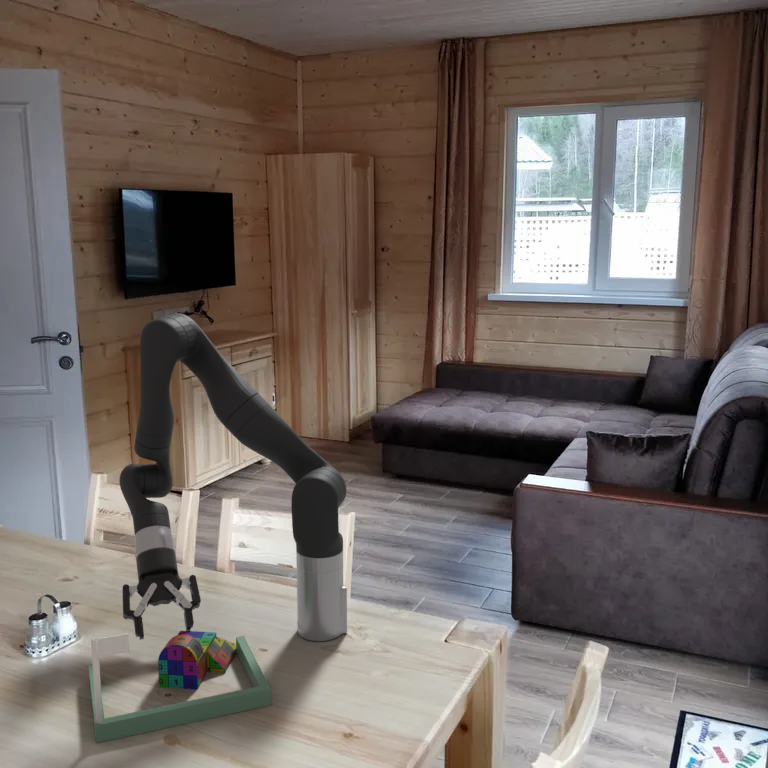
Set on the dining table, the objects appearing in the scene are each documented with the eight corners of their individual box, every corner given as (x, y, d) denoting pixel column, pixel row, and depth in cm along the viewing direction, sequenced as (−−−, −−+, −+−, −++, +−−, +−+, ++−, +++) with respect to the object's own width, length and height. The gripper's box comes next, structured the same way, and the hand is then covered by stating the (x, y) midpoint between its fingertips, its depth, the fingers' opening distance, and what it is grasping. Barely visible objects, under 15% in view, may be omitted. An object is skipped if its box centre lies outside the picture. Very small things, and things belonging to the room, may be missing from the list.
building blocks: (215, 691, 143) (214, 646, 142) (159, 688, 144) (157, 643, 143) (238, 649, 158) (237, 607, 156) (187, 646, 159) (185, 605, 157)
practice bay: (244, 650, 157) (241, 566, 154) (270, 705, 139) (268, 611, 136) (89, 679, 146) (83, 590, 143) (96, 743, 128) (89, 642, 125)
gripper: (118, 551, 156) (126, 634, 148) (193, 541, 161) (206, 620, 153) (117, 566, 162) (125, 647, 153) (190, 557, 167) (202, 634, 159)
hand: (165, 634), depth 153 cm, fingers open, 8 cm apart
